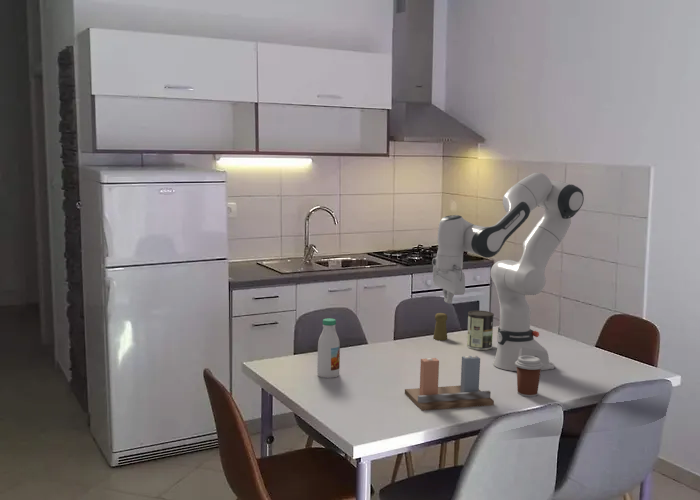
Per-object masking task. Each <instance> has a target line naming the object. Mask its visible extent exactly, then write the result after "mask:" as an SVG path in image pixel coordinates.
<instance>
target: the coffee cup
mask: <svg viewBox="0 0 700 500" xmlns="http://www.w3.org/2000/svg"><path fill="white" fill-rule="evenodd" d="M515 366H516V367H517V371H516V385H517V388H516V389H517V394H518V395H519V396H522V397H525V398H526V397H527V398H533V397H537V396H538V394H539V384H540V380H541V379H540V378H541V371H542V370H541V369H542V368H543V364H542V363H541V362H540V359H539V358H538V357H534V356H520V357H519V358H518V360H517V361H516V362H515Z"/></svg>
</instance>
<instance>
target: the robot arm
mask: <svg viewBox="0 0 700 500" xmlns="http://www.w3.org/2000/svg"><path fill="white" fill-rule="evenodd" d="M584 196H585V195H584V192H583V190H582V189H581V188H580V187H578V186H576V185H574V184H570V183H567V182H564V181H561V180H553V179H550V178H549V177H548V175H546V174H544V173H543V172H533V173H531V174H529V175H527V176H526V177H524V178H522V179H521V180H519V181H518V182H516V183H515V184H513V185H512V186H511V187H510V188H509V189H507V191H506V192H505V193H504V195H503V197H502V205H503V209H504V210H505V212H506V214H505V215H504V216H503V217H502V218H501V219H499V220H498V221H497V222H496V223H495V224H493V225H490V226H483V225H476V224H473V222H472V223H471V222H469V221H467V220H466V218H465V219H464V218H463V216H461V215H458V214H454V215H453V214H452V215H445V216H444V217H442V218H441V219H440V221H439V224H438V229H437V240H436V241H437V245H438V248H437V253H436V256H435V257H433V258H432V261H431V265H433V267H432V280H433V284H434V286H437V287H439V288H441V289H442V294H443V298H444V299H443V301H444V303H446V304H450V305H451V304H453V298H454V295H456V296H463V295H464V294H465V292H466V277H465V273H464V271H462V269H463V268H464V265H463V263H464V262H463V261H464V252H468V253H469V254H470V253H471V254H475V255H478V256H480V257H483V258H492V257H495V256H496V255H497V254H499V252H500V251H501V249H502V248H503V246H504V245H505V243H506V241H507V240H508V239H509V238H510V237H512V235H513V234H515V232H516V231H517V230H518V229H519V228H520V227H521V226H522V225H523V224H524V223H525V222H526V220H527V219H528V218H529V216H530V214H531V212H533V210H535V209H536V208H537V207H538V208H539V207H540V208H543V209H544V213H543V215H542V217H541V218H540V219H539V220H538V222H537V223H536V224H535V225H534V227H533V228H532V229H531V231H530V232H529V234H528V235H527V237H526V238H524V240H523V242H522V249H523V250H522V251H523V252H522V255H521V258H520V259H519V260H518V261H516V260H512V259H502V260H498V261H496V262H495V263H494V264H493V265H492V266H491V269H490V278H491V281H492V282H493V284H494V286H495V289H496V293H497V299H498V302H499V326H498V327H497V329H498V330H497V347H496V353H495V357H494V360H493V362H492V365H493V366H494V367H496V368H498V369H501V370H506V371H512V372H513V371H514V372H517V367H516V366H515V362H516V361H517V360H518V358H519V357H520V356H534V357H538V358H539V359H540V362H541V363H542V364H543V368H542V369H541V371H547V370H554V369H555V366H556V365H555V364H554V362H553V361H550V359H549V353H548V351H547V349H546V348H545V347H544V346H543V345H542V344H541V343H539V342H538V341H537V340H536V339H535V338H538V337H539V336H540V332H539V331H537V330H533V329H531V313H532V310H531V307H530V305H529V303H528V301H527V298H526V296H536V295H539V294H540V293H542V291H543V290H544V289H545V286H546V281H547V280H546V275H545V271H546V268H547V266H548V265H547V264H548V262H549V261H550V258H551V257H552V256H553V254H554V253H555V251H556V249H557V248H558V247H559V245H560V244H561V242H562V241H563V240H564V237H565V236H566V234H567V232H568V231H569V228H570V225H571V223H572V219H571V218H573V217H574V216H575V215H576V214H577V213H578V212H579V211H580V209H581V208H582V206H583V205H584ZM534 337H535V338H534Z"/></svg>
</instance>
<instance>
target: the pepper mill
mask: <svg viewBox="0 0 700 500" xmlns="http://www.w3.org/2000/svg"><path fill="white" fill-rule="evenodd" d="M434 320H435V325H434V332H433V338H432V339H433V340H434V339H435V341H439V340H440V342H441V341H442V342H443V341H447V340H448V332H447V331H448V329H447V320H448V315H447V313H443V312H437V313H435V316H434Z"/></svg>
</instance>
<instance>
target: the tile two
mask: <svg viewBox="0 0 700 500" xmlns="http://www.w3.org/2000/svg"><path fill="white" fill-rule="evenodd" d="M460 366H461V368H460V369H461V371H460V385H461V390H460V393H462V392H476V391H479V390H480V374H481V373H480V372H481V371H480V369H481V358H480V357H479V356H478V355H469V356H468V355H466V356H461V365H460Z"/></svg>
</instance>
